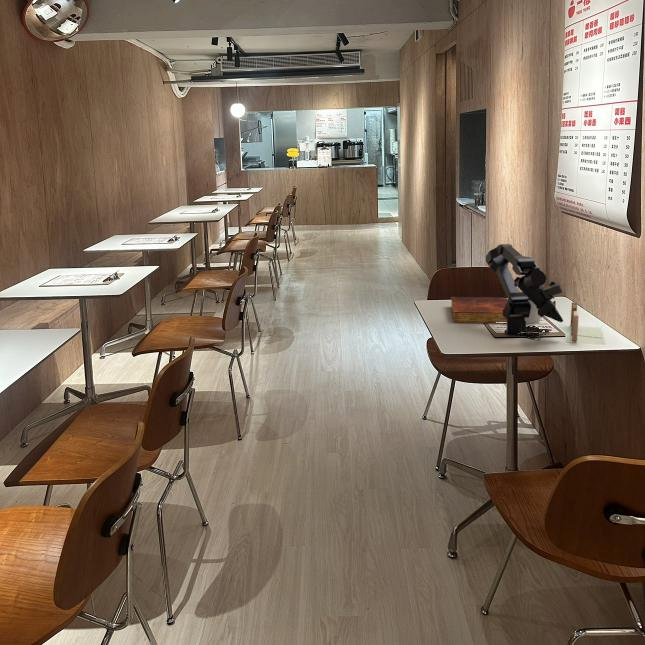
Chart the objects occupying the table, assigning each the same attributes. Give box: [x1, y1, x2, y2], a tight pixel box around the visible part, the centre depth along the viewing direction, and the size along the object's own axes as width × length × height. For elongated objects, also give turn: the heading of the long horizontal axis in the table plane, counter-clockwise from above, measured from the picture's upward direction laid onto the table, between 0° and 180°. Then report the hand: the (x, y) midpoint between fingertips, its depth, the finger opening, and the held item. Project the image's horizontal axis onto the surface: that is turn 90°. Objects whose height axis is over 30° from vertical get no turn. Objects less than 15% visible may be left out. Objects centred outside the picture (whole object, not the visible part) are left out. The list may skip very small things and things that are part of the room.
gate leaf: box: [572, 311, 580, 341], centre depth 293 cm, size 2×9×9 cm, turn 164°
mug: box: [525, 300, 541, 325], centre depth 322 cm, size 12×8×11 cm
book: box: [450, 296, 508, 324], centre depth 334 cm, size 30×24×5 cm
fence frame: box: [569, 301, 578, 335], centre depth 305 cm, size 2×16×10 cm, turn 164°
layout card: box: [564, 325, 606, 345], centre depth 300 cm, size 14×25×1 cm, turn 164°
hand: (562, 321), depth 292 cm, fingers closed
